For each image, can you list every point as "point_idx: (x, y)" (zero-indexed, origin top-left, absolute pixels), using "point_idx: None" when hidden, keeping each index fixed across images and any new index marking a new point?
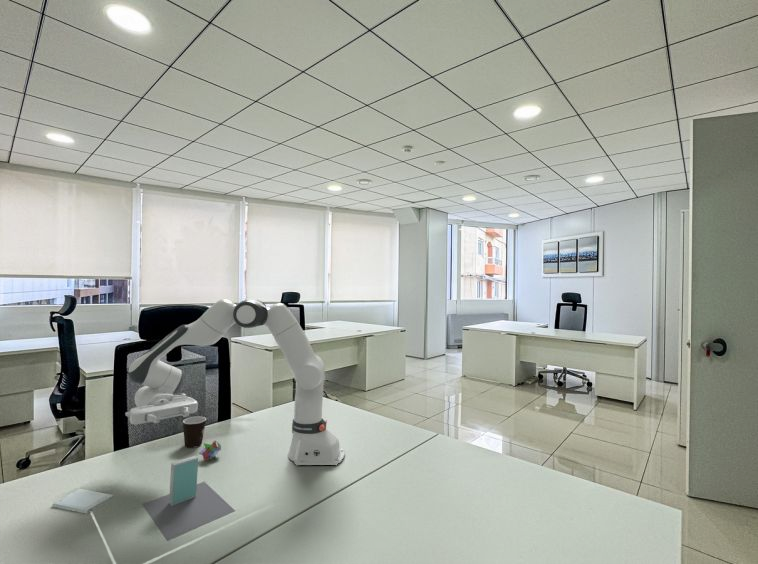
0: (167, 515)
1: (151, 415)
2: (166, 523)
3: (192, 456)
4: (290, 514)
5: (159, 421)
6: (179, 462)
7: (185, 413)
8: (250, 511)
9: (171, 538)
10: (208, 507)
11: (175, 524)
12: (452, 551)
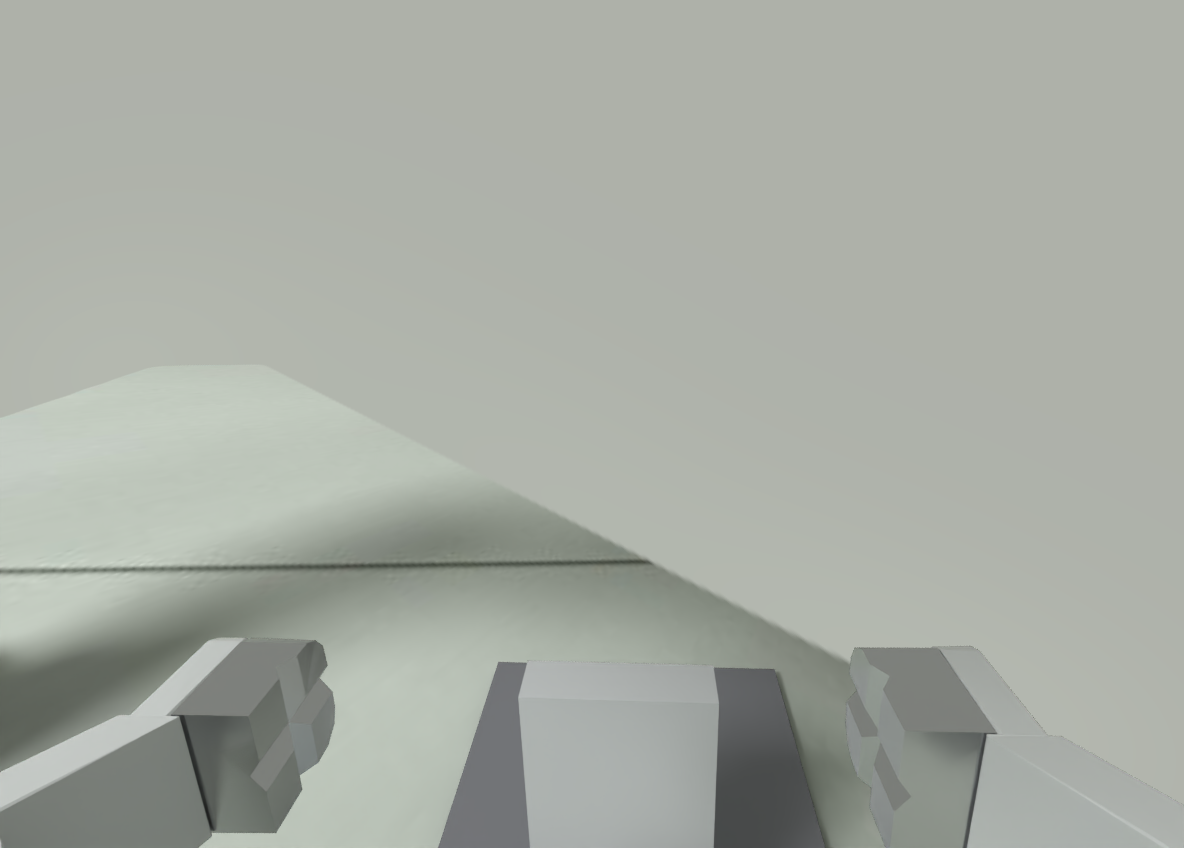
0: (745, 819)
1: (1155, 816)
2: (761, 761)
3: (546, 696)
4: (399, 574)
5: (857, 721)
6: (666, 672)
7: (304, 659)
8: (457, 646)
9: (759, 670)
10: None
11: (727, 729)
12: (361, 424)
